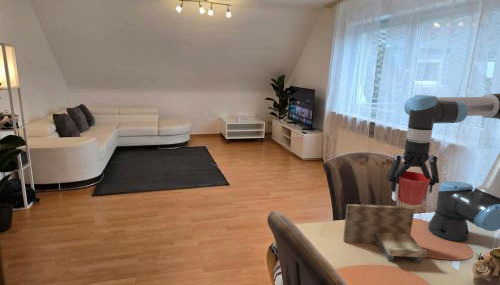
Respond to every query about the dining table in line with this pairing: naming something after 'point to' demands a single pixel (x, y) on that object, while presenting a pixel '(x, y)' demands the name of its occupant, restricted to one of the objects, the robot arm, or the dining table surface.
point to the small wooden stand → (399, 246)
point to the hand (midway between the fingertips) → (409, 200)
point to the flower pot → (412, 188)
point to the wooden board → (375, 222)
